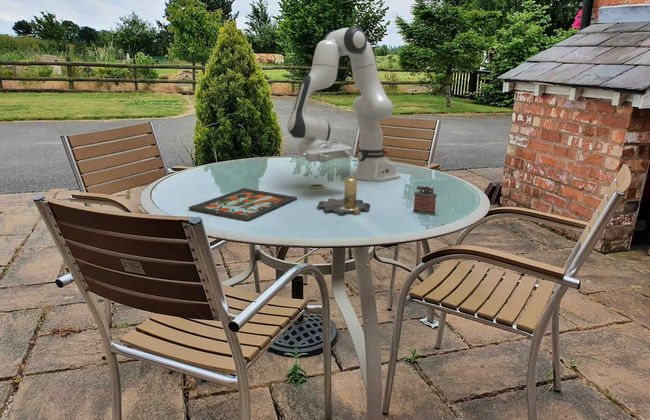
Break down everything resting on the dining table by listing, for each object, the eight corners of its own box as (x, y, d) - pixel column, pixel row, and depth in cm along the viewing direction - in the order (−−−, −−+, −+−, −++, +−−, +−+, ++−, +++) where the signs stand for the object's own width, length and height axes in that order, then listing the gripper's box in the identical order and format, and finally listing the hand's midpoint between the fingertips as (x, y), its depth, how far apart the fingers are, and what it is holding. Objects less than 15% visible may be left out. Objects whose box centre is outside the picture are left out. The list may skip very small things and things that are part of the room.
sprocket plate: (352, 198, 197) (352, 195, 196) (380, 211, 180) (380, 208, 180) (308, 204, 188) (308, 201, 187) (333, 218, 171) (334, 214, 171)
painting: (299, 202, 196) (299, 196, 195) (249, 225, 166) (249, 218, 165) (242, 191, 207) (242, 186, 206) (186, 212, 177) (185, 205, 176)
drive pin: (351, 205, 183) (352, 176, 179) (358, 208, 179) (359, 179, 176) (341, 206, 181) (342, 177, 177) (347, 209, 177) (348, 180, 174)
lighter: (435, 212, 180) (437, 186, 177) (434, 214, 177) (436, 188, 174) (413, 210, 183) (415, 184, 180) (412, 212, 179) (414, 186, 177)
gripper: (299, 146, 198) (315, 152, 186) (342, 141, 207) (359, 146, 195) (300, 162, 200) (315, 168, 188) (342, 156, 209) (359, 161, 197)
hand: (338, 156), depth 192 cm, fingers open, 8 cm apart
